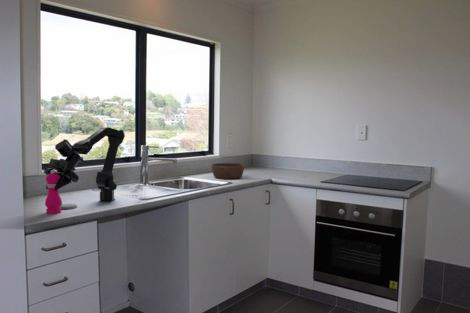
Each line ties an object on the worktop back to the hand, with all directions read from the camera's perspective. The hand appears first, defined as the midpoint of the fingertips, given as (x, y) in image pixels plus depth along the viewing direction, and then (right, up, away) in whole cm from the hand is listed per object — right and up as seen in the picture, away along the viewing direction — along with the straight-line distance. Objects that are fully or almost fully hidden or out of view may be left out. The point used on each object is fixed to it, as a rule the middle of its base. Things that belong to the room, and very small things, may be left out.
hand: (50, 189), depth 189 cm
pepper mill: (0, -11, +2) cm, 11 cm away
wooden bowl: (+79, -2, +127) cm, 150 cm away
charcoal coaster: (+2, -10, +13) cm, 17 cm away
